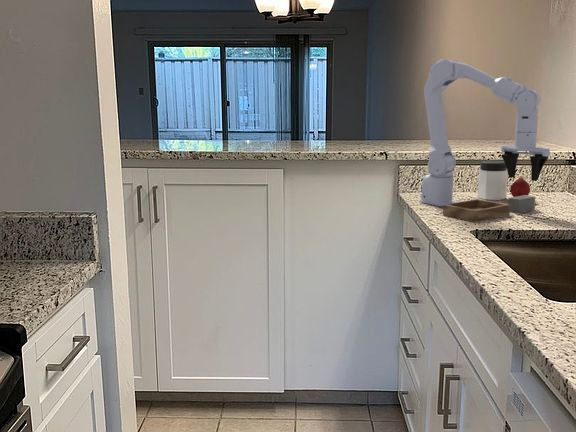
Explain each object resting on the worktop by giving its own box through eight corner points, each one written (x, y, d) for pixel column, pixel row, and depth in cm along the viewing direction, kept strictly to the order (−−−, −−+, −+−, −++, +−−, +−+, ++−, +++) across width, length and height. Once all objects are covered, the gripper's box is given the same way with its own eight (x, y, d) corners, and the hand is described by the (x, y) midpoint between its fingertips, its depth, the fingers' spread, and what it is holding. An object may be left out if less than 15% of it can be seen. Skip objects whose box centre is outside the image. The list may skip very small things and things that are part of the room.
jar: (497, 201, 186) (499, 164, 183) (473, 198, 192) (475, 162, 189) (510, 197, 192) (512, 161, 190) (486, 194, 198) (488, 159, 195)
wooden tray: (443, 215, 168) (443, 204, 167) (476, 208, 176) (476, 198, 175) (475, 222, 158) (476, 211, 158) (509, 215, 166) (510, 204, 166)
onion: (530, 203, 182) (532, 177, 181) (511, 202, 183) (513, 177, 182) (527, 199, 188) (529, 175, 186) (508, 199, 189) (510, 175, 187)
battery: (508, 211, 171) (508, 197, 171) (523, 208, 175) (524, 194, 175) (518, 213, 169) (519, 199, 168) (534, 209, 173) (535, 196, 172)
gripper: (557, 132, 163) (554, 180, 166) (512, 130, 175) (510, 174, 178) (542, 133, 159) (539, 182, 162) (497, 131, 171) (495, 177, 174)
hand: (522, 179), depth 170 cm, fingers open, 7 cm apart
